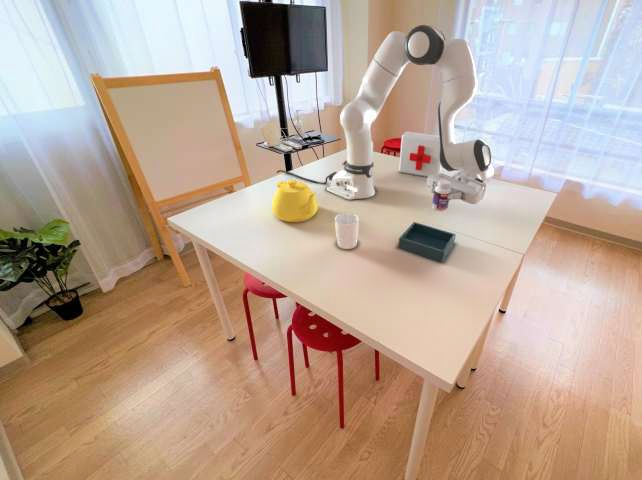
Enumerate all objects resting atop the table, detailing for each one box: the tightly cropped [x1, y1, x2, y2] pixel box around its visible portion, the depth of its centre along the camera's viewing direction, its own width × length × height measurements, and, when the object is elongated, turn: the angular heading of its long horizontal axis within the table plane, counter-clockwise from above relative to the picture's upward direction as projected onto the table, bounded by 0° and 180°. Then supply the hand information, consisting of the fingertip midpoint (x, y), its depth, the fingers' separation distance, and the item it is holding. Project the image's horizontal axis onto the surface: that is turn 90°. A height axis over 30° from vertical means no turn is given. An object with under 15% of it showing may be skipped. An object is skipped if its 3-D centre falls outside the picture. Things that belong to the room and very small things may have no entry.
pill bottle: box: [431, 179, 451, 212], centre depth 103 cm, size 5×5×10 cm
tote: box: [397, 221, 457, 263], centre depth 105 cm, size 16×13×4 cm
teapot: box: [271, 179, 319, 223], centre depth 118 cm, size 25×18×14 cm
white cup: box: [334, 212, 360, 250], centre depth 103 cm, size 8×8×10 cm
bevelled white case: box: [398, 131, 443, 178], centre depth 154 cm, size 21×8×20 cm, turn 68°
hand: (440, 194), depth 103 cm, fingers closed on pill bottle, 5 cm apart
